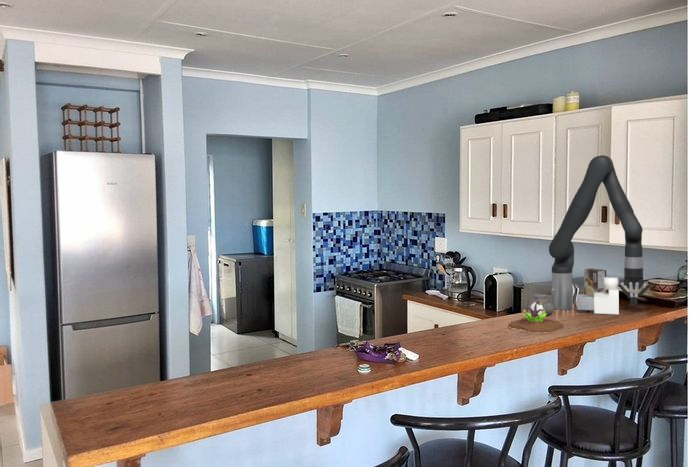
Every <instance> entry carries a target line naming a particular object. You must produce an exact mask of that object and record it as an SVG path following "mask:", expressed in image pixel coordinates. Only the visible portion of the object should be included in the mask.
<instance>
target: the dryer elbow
mask: <svg viewBox="0 0 700 467" xmlns="http://www.w3.org/2000/svg"><path fill="white" fill-rule="evenodd" d="M618 284H619V277H618V276H606V277H604V289H606V290H607V291H608V292H607V293H596V292H595V293H594V313H593V314H597V315H598V314H600V315H601V314H602V315H620V312H619V311H620V306H619V305H620V304H619V300H620V298H619V294H620V293H619V292H620V291H619V289H620V288H619V286H618Z"/></svg>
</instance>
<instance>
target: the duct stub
mask: <svg viewBox="0 0 700 467" xmlns="http://www.w3.org/2000/svg"><path fill="white" fill-rule="evenodd" d="M576 310H578V314H579V313H581V314H586V313H587V311H590V314H595V313H594V295H586V294H584V293H583V294H579V293H578V294H577V295H576Z"/></svg>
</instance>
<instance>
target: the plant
mask: <svg viewBox="0 0 700 467" xmlns="http://www.w3.org/2000/svg"><path fill="white" fill-rule="evenodd" d="M537 303H538V305H541V302H539V301H537V302H536V304H535V307H534V311H533V310H532V309H531V308H529V307H528V306H527V307H525V308H524V309H522V315H523V318H521V319H515V320H511V321H510V322H508V324H507V325H508V326H509V327H511V328H516V329H522V330H526V331H530V332H542V333H543V332H553V331H556V330H559V329H562V328H563V329H564V324H563V323H561V322H560V321H558V320H553V319H549V318H546V317H547V316H548V315H547V314H545V311H544V310H543V309H540V310H538V311H537ZM528 309H530V311H531V314H529V312H527V310H528ZM540 311H542V314H543V315H541V316H540V314H539V312H540ZM508 326H507V327H508Z"/></svg>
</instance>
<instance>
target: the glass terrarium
mask: <svg viewBox="0 0 700 467" xmlns="http://www.w3.org/2000/svg"><path fill="white" fill-rule="evenodd" d="M537 301H539V302H541V305H538V303H537V311H538V310H540V309H543V310H544V311H545V314H547V315H546V316H548V315H551V314H553V313H554V310H555V309H554V307H553V305H552V302H551V301H549V300H548V298H547V295H546V294H534V300H532V301H530V302H529V304H528V306H527V307H529V308H531V309H532V310H533V311H534V307H535V304H536V302H537ZM527 311H528V312H527V313H529V314H531V311H530V309H527ZM539 314H540V316H541V315H543V314H542V311H540V312H539Z"/></svg>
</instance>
